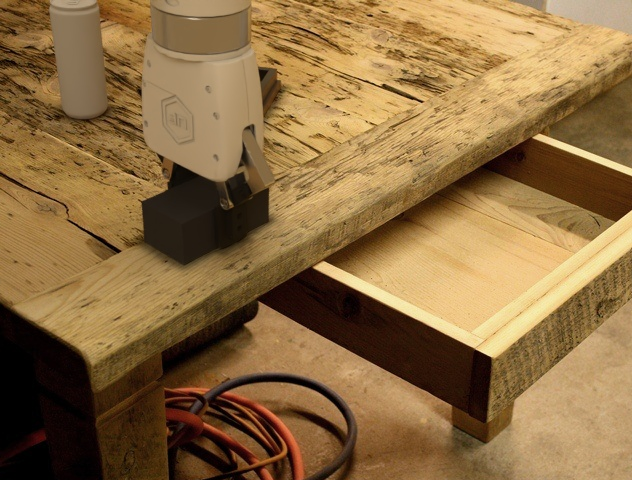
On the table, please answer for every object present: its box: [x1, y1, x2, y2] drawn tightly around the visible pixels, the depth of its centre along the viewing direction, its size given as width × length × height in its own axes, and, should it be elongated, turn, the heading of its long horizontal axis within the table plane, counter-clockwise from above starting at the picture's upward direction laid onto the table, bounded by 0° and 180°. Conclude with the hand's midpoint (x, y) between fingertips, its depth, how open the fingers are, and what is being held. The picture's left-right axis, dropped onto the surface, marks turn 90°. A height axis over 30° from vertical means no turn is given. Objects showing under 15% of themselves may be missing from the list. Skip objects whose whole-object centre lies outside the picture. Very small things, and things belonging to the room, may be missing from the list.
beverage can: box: [48, 0, 109, 120], centre depth 96 cm, size 5×5×12 cm
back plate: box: [258, 65, 282, 117], centre depth 101 cm, size 14×9×2 cm, turn 170°
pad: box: [141, 175, 270, 266], centre depth 79 cm, size 10×5×4 cm, turn 140°
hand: (208, 227), depth 80 cm, fingers closed on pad, 5 cm apart
